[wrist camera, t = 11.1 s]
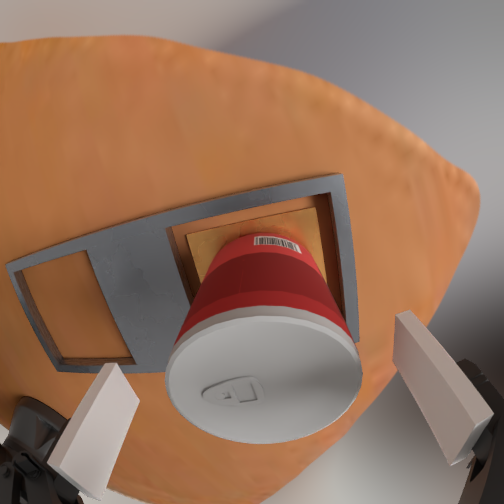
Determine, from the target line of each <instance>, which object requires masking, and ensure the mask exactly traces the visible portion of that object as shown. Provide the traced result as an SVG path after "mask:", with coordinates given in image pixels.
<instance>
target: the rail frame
mask: <svg viewBox="0 0 504 504" xmlns="http://www.w3.org/2000/svg"><path fill="white" fill-rule="evenodd" d="M322 193H327V196H328V201H329V207H330V214H331V220H332V227H333V233H334V241H335V248H336V256H337V264H338V272H339V281H340V291H341V302H342V313H343V318H344V320H345V322H346V325H347V327H348V329H349V331H350V333H351V335H352V338H353V341H354V343H356V342H359V315H358V296H357V282H356V270H355V259H354V249H353V240H352V232H351V224H350V217H349V209H348V203H347V196H346V190H345V184H344V178H343V174H341V173H334V174H328V175H323V176H317V177H312V178H306V179H301V180H296V181H290V182H285V183H280V184H275V185H271V186H266V187H261V188H256V189H252V190H247V191H243V192H238V193H234V194H230V195H225V196H221V197H217V198H213V199H209V200H205V201H200V202H196V203H193V204H189V205H185V206H181V207H177V208H173V209H170V210H166V211H162V212H159V213H155V214H151V215H148V216H144V217H141V218H137V219H134V220H130V221H127V222H124V223H120V224H117V225H114V226H111V227H107V228H104V229H101V230H98V231H95V232H92V233H88V234H85V235H82V236H79V237H76V238H73V239H70V240H67V241H64V242H62V243H59V244H56V245H53V246H50V247H47V248H45V249H42V250H39V251H36V252H34V253H31V254H28V255H26V256H23V257H20V258H18V259H15V260H13V261H11V262H9V263H7V264H6V268H7V271H8V274H9V276H10V279H11V281H12V284H13V286H14V289H15V291H16V294H17V296H18V298H19V300H20V303H21V305H22V307H23V309H24V311H25V314H26V316H27V318H28V320H29V322H30V324H31V326H32V328H33V330H34V332H35V334H36V335H37V337H38V339H39V341H40V343H41V345H42V346H43V348H44V350H45V352H46V353H47V355H48V357H49V358H50V360H51V362H52V363H53V365H54V367H55V368H56V370H57V371H58V372H75V373H99V372H100V370H101V369H102V367H103V366H104V364H105V363H117V364H118V366H119V368H120V369H121V371H122V373H155V372H166V367H167V365H168V358H169V356H170V354H171V351H172V349H173V346H174V343H175V341H176V338H177V336H178V334H179V332H180V329H181V327H182V325H183V323H184V320H185V318H186V316H187V314H188V312H189V309H190V307H191V305H192V303H193V301H194V298H193V295H192V292H191V289H190V286H189V283H188V280H187V277H186V274H185V271H184V268H183V265H182V261H181V258H180V255H179V252H178V249H177V245H176V242H175V239H174V235H173V232H172V228H171V226H175V225H179V224H183V223H187V222H191V221H195V220H199V219H204V218H208V217H212V216H216V215H221V214H225V213H230V212H234V211H239V210H243V209H248V208H252V207H257V206H262V205H266V204H271V203H276V202H281V201H286V200H291V199H296V198H301V197H306V196H311V195H317V194H322ZM256 233H274V234H278V235H282V236H286V237H288V238H290V239H292V240H295V241H296V242H298V243H299V244H300V245H302V246H303V247H305V249H306V250H307V251H308V252H309V253H310V254H311V255H312V257H313V259H314V260H315V262H316V264H317V266H318V268H319V270H320V272H321V274H322V276H323V278H324V280H325V282H326V284H327V280H326V272H325V265H324V258H323V251H322V244H321V238H320V231H319V225H318V219H317V213H316V208H315V207H312V208H307V209H302V210H297V211H292V212H287V213H282V214H277V215H272V216H267V217H262V218H258V219H253V220H248V221H244V222H239V223H234V224H230V225H225V226H221V227H216V228H212V229H207V230H203V231H199V232H194V233H190V234H187V235H186V236H187V239H188V243H189V246H190V249H191V253H192V256H193V259H194V263H195V266H196V269H197V272H198V276H199V279H200V282H201V283H202V281H203V279H204V277H205V275H206V273H207V270H208V268H209V266H210V264H211V262H212V260H213V259H214V257H215V256H216V255H217V253H218V252H219V251H220V250H221V249H222V248H224V247H225V246H226V245H227V244H229V243H230V242H232V241H234V240H236V239H237V238H240V237H243V236H246V235H250V234H256ZM83 250H87V253H88V256H89V258H90V261H91V264H92V267H93V269H94V272H95V275H96V277H97V280H98V282H99V285H100V287H101V290H102V292H103V295H104V297H105V299H106V302H107V304H108V306H109V309H110V311H111V313H112V315H113V318H114V320H115V322H116V324H117V326H118V328H119V330H120V332H121V334H122V337H123V339H124V341H125V343H126V345H127V347H128V348H129V350H130V352H131V354H132V356H133V357H128V358H100V359H64V358H63V357H62V355H61V353H60V352H59V350H58V348H57V346H56V344H55V343H54V341H53V339H52V337H51V335H50V333H49V331H48V330H47V328H46V326H45V324H44V322H43V320H42V318H41V315H40V313H39V311H38V309H37V307H36V305H35V303H34V300H33V298H32V296H31V293H30V291H29V289H28V286H27V284H26V281H25V279H24V276H23V274H22V271H21V270H22V269H25V268H28V267H31V266H34V265H37V264H40V263H43V262H46V261H50V260H53V259H56V258H59V257H63V256H66V255H69V254H72V253H76V252H79V251H83Z"/></svg>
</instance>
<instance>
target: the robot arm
mask: <svg viewBox="0 0 504 504" xmlns="http://www.w3.org/2000/svg"><path fill="white" fill-rule="evenodd" d="M393 362H394V364H395V366H396V367H397V369H398V371H399V372H400V374H401V376H402V378H403V379H404V381H405V383H406V384H407V386H408V388H409V390H410V391H411V393H412V395H413V397H414V398H415V400H416V402H417V404H418V406H419V407H420V409H421V411H422V413H423V415H424V417H425V419H426V421H427V422H428V424H429V426H430V428H431V430H432V432H433V434H434V436H435V438H436V440H437V442H438V444H439V445H440V447H441V449H442V451H443V454H444V455H445V458H446V460H447V462H448V464H449V466H451V465H453V464H455V463H457V462H459V461H461V460H462V459H464V458H466V457H467V456H468V454H469V453H470V452H471V450H473V451H474V453H475V456H474V457H473V458H472V460H471V461H470V463H469V464H468V466H467V468H469V467H470V466H471V469H470V472H469V475H468V478H467V481H466V484H465V487H464V490H463V493H462V495H461V498H460V501H459V503H458V504H504V399H503V397H502V396H501V395H500V394H499V392H498V391H497V390H496V389H495V387H494V386H493V385H492V384H491V382H490V381H488V379H487V377H486V376H485V375H484V374H482V372H481V370H480V369H479V368H478V367H477V365H476V364H474V363H472V362H471V361H469V360H467V359H463V360H462V361H459V362H457V363H455V361H454V360H453V359H452V358H451V357H450V355H449V354H448V353H447V352H446V351H445V350H444V348H443V347H442V346H441V345H440V343H439V342H438V341H437V340H436V339H435V338H434V337H433V335H432V334H431V333H430V332H429V331H428V329H427V328H426V327H425V326H424V325H423V324H422V323H421V322H420V320H419V319H418V318H417V317H416V316H415V315H414V314H413V313H412V312H411V310H408V311H405V312H402V313H399V314H395V334H394V349H393ZM139 402H140V400H139V399H138V397H137V396H136V394H135V393H134V391H133V389H132V388H131V386H130V384H129V383H128V381H127V380H126V378H125V376H124V374H123V373H122V371H121V369H120V368H119V366H118V364H117V363H105V364H104V366H103V367H102V369H101V370H100V372H99V373H98V375H97V377H96V378H95V380H94V381H93V383H92V385H91V386H90V388H89V390H88V391H87V393H86V394H85V396H84V398H83V399H82V401H81V403H80V404H79V406H78V408H77V409H76V411H75V413H74V414H73V416H72V418H69V419H68V420H66V419H65V418H63V417H62V416H61V415H59V414H58V413H57V412H55V411H54V410H52V409H51V408H49V407H48V406H46V405H44V404H43V403H41V402H39V401H37V400H35V399H32V398H29V397H23V398H21V400H20V401H19V402H18V404H17V405H16V407H15V410H14V414H13V417H12V421H11V425H10V430H9V434H8V437H7V438H6V440H5V441H4V443H3V444H2V445H1V444H0V504H84V503H83V500H82V498H81V497H80V496H79V495H78V493H79V491H81V492H82V493H83V494H85V495H86V496H87V497H90V498H93V499H96V500H99V501H101V500H102V497H103V495H104V492H105V489H106V486H107V483H108V481H109V478H110V475H111V472H112V470H113V467H114V464H115V462H116V459H117V457H118V454H119V451H120V449H121V446H122V444H123V441H124V439H125V436H126V434H127V431H128V429H129V426H130V424H131V421H132V419H133V416H134V414H135V411H136V409H137V407H138V404H139Z"/></svg>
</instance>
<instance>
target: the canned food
mask: <svg viewBox="0 0 504 504" xmlns="http://www.w3.org/2000/svg"><path fill="white" fill-rule="evenodd" d="M362 375H363V372H362V367H361V361H360V359H359V353H358V350H357V348H356V345H355V343H354V341H353V338H352V335H351V333H350V331H349V329H348V327H347V325H346V322H345V320H344V318H343V316H342V314H341V312H340V310H339V308H338V306H337V304H336V302H335V300H334V298H333V296H332V294H331V292H330V290H329V288H328V286H327V284H326V282H325V280H324V278H323V276H322V274H321V272H320V270H319V268H318V266H317V264H316V262H315V260H314V259H313V257H312V255H311V254H310V253H309V252H308V251H307V250H306V249H305V247H303V246H302V245H300V244H299V243H298V242H296V241H295V240H292V239H290V238H288V237H286V236H282V235H278V234H274V233H256V234H250V235H246V236H243V237H240V238H237V239H236V240H234V241H232V242H230V243H229V244H227V245H226V246H225V247H224V248H222V249H221V250H220V251H219V252H218V253H217V255H216V256H215V257H214V259H213V260H212V262H211V264H210V266H209V268H208V270H207V273H206V275H205V277H204V279H203V281H202V283H201V285H200V288H199V290H198V292H197V294H196V296H195V298H194V301H193V303H192V305H191V307H190V309H189V312H188V314H187V316H186V318H185V320H184V323H183V325H182V327H181V329H180V332H179V334H178V336H177V338H176V341H175V343H174V346H173V349H172V351H171V354H170V356H169V358H168V365H167V367H166V374H165V385H166V390H167V394H168V396H169V398H170V400H171V402H172V404H173V405H174V407H175V408H176V409H177V410H178V412H179V413H180V414H181V415H182V416H183V417H184V418H186V419H187V420H188V421H189V422H190V423H191V424H193V425H195V426H196V427H198V428H200V429H201V430H203V431H205V432H207V433H210V434H212V435H214V436H217V437H220V438H224V439H227V440H231V441H236V442H242V443H251V444H270V443H281V442H286V441H291V440H295V439H299V438H302V437H305V436H308V435H311V434H313V433H315V432H317V431H319V430H321V429H323V428H325V427H327V426H328V425H330V424H331V423H333V422H334V421H336V420H337V419H338V418H339V417H341V416H342V415H343V414H344V413H345V412H346V411H347V410H348V409H349V407H350V406H351V405H352V403H353V402H354V400H355V399H356V397H357V395H358V392H359V390H360V388H361V383H362Z"/></svg>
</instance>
